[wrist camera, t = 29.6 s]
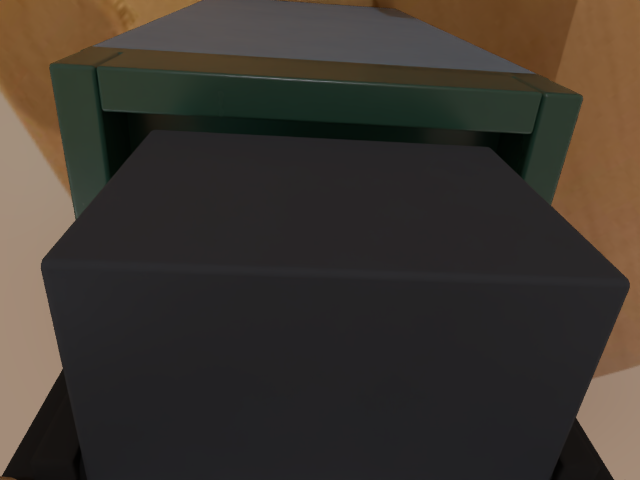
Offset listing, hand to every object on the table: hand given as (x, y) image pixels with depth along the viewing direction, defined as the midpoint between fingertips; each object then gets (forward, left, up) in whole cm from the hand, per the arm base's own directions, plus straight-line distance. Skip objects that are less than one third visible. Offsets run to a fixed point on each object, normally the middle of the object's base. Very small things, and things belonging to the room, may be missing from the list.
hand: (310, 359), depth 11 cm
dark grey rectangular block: (0, 0, -1) cm, 1 cm away
